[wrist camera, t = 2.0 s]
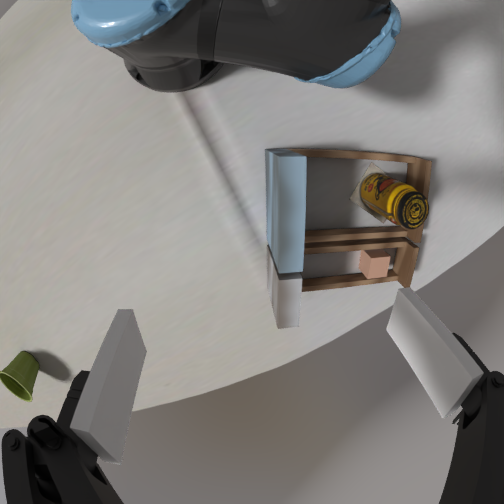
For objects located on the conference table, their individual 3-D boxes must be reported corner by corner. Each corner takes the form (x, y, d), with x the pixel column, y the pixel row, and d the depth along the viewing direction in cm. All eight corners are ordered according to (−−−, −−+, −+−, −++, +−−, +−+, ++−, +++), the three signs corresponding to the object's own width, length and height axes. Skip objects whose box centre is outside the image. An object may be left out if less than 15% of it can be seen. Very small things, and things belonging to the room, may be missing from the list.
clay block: (361, 248, 47) (371, 258, 43) (380, 246, 47) (390, 256, 43) (358, 268, 48) (367, 279, 45) (376, 266, 48) (386, 276, 45)
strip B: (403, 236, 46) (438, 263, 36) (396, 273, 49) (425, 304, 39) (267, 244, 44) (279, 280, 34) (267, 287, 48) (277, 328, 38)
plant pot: (8, 340, 50) (-9, 367, 40) (36, 349, 51) (19, 378, 41) (24, 369, 55) (10, 395, 45) (52, 378, 56) (38, 406, 46)
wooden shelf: (413, 156, 39) (455, 168, 30) (404, 231, 45) (440, 257, 36) (265, 149, 38) (279, 156, 28) (267, 238, 44) (279, 273, 34)
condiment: (370, 161, 40) (414, 176, 29) (403, 189, 42) (446, 210, 31) (348, 198, 42) (385, 223, 32) (382, 222, 45) (421, 251, 34)
